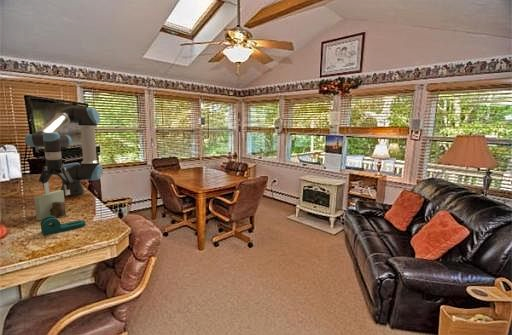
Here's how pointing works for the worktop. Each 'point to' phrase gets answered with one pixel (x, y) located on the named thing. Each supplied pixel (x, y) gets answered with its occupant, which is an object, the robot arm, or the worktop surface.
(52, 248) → the worktop surface
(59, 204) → the walnut slotted plate
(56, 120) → the robot arm
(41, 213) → the sage slotted plate
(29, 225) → the worktop surface
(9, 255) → the worktop surface
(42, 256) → the worktop surface
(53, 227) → the bracket
